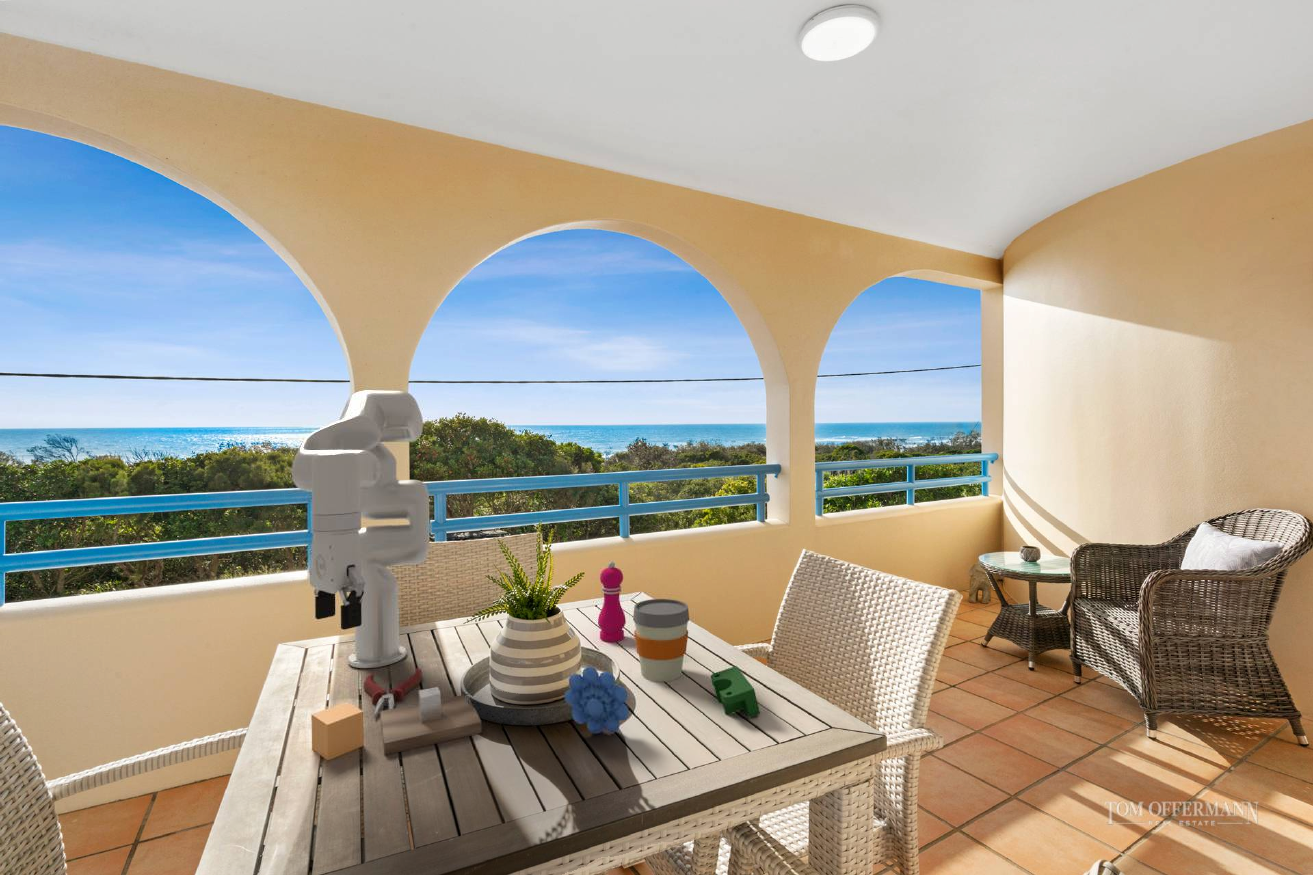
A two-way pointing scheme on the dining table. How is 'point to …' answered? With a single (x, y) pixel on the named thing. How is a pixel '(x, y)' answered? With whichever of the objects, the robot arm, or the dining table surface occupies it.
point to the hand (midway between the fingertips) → (338, 622)
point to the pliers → (395, 694)
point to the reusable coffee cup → (661, 637)
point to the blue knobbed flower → (597, 700)
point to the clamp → (735, 692)
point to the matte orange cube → (337, 730)
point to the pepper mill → (611, 605)
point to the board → (428, 722)
